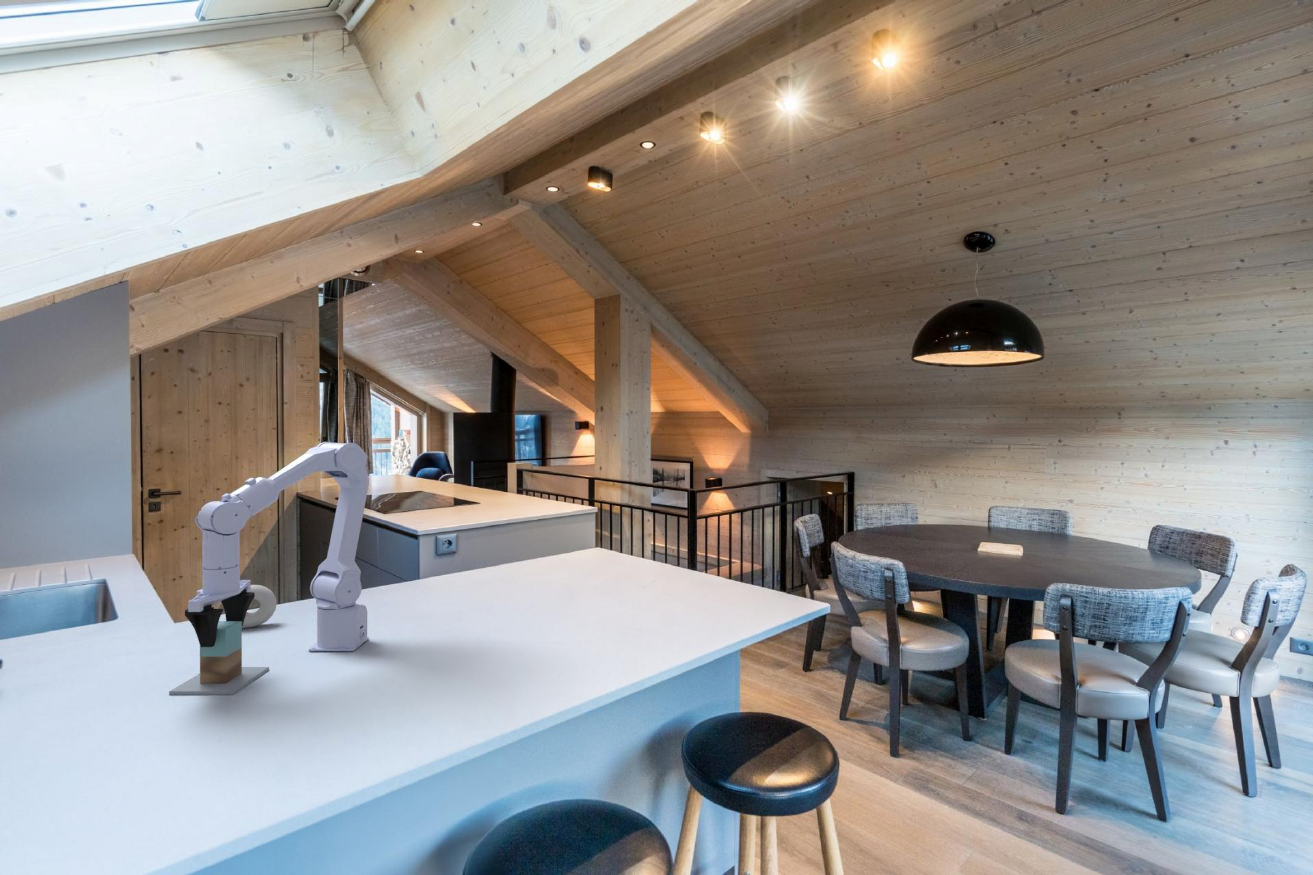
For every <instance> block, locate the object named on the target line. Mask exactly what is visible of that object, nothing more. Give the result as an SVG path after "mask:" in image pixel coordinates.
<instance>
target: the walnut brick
mask: <svg viewBox="0 0 1313 875" xmlns="http://www.w3.org/2000/svg"><path fill="white" fill-rule="evenodd" d="M242 649H243V648H240V649H238V650H236V651H235V652H233V653H231V654H229V655H228V656H226V657H200V656H199V674H200V684H226V683H228V682H229V681H231V680H232V679H234V678H236V677H237V676H239V675H240V674H242V667H243V665H242V664H243V663H242V662H243V654H242V653H243V650H242Z"/></svg>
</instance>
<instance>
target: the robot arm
mask: <svg viewBox="0 0 1313 875" xmlns="http://www.w3.org/2000/svg"><path fill="white" fill-rule="evenodd" d="M367 461H368V454H366V452H365V450H363V448H361V446H360V445H359V444H356V443H355V442H346V443H344V442H342V443H341V442H331V441H324V442H321V443H319V444H318V445H316V446H313V447H311V448H309V449H308V450H306V452H305V453H304V454H302V455H300V456H299V457H297V458H296V459H295V460H294V461H292V462H290V463H288V464H287V465H286V466H285V467H283V468H281V469H279V470H278V471H277V472H276V473H274V474H272V475H271V476H269V477H268V478H266V477H262V476H261V477H260V476H258V477H256V478H254V477H249V478H248V479H246V480H245V481H244V483H245V484H244V485H242V486H241V487H238V488H237V489H235V490H234V491H232V492H230V493H228V492H226V493H224V494H223V495H221V500H219V501H218V500H216V501H214V500H213V501H209V502H208V503H206V504H204V505H203V506H202V507H201V508H200V510H199V512H198V514H197V516H196V517H195V518H194V522H195V524H196V526H197V527H198V528H199V529H200V530H201V533H202V534H201V536H202V537H201V538H202V546H201V547H202V548H201V551H202V552H201V554H202V556H201V557H202V558H201V560H202V562H201V563H202V564H201V566H202V570H201V571H202V572H201V573H202V574H201V575H202V576H201V577H202V578H201V579H202V580H201V583H202V588H201V589H198V590H196V596H195V597H193V598H192V599H190V600H188V601H187V603H188V604H187V608H185V609H184V616H185V618H186V619H188V621H189V622H190V624H191V626H192V628H193V629H194V631H195V635H196V637H197V639H198V643H199V647H200V646H201V647H213V646H214V645H215V642H216V635H217V626H218V622H219V621H220V618H221V617H222V614H223V612H224V614H225V621H242V628H244V627H243V623H244V619H245V616H246V613H247V612H248V610H249V608H250V606H251V603H252V601H253V600H255V599H254V597H255V593H254V592H247V591H249V590H251V585H252V584H251V582H252V581H251V579H241V569H240V568H241V549H240V548H241V545H240V544H241V538H240V537H241V536H240V535H241V534H240V532H241V530H242V529H244V528H245V526H246V524H247V522H248V520H249V519H250V518H252V517H254V516H255V515H257V514H258V513H260V512H261V511H263V510H265V509H266V508H268V507H269V506H271V505H273V504H274V503H277V501H278V499H279V496H280V492H282V491H284V490H286V489H287V488H289V487H291V486H292V485H294V484H296V483H298V482H300V481H302V480H303V479H305V478H307V477H308V476H310V475H312V474H314V473H317V472H323V473H325V474H327V475H329V476H331V477H332V479H333V480H334V481H335V482H336V483H337V484H338V485H339V487H340V488H339V494H338V495H339V496H338V499H337V505H336V510H335V514H334V520H333V525H332V530H331V536H330V541H329V546H328V550H327V556H326V559H324V560H323V561H322V562H320V564H319V565H318V566H317V571H316V574H315V575H314V577H313V579H312V580H311V582H310V586H309V591H310V594H311V596H312V597H313V598H314V599H315V600H316V617H317V618H316V643H314V644H313V645H311V646H310V647H309V648H308V652H353V651H355V650H356V649H358V648H359V647H360V646H361V645H363V644H364V643H365V642H366V641H367V640H368V639H369V638H370V637H369V636H368V609H367V606H366V605H365V604H359V603H356V601H358V599H359V598H360V596H361V594H362V583H361V574H362V571H361V569H360V567H359V566H358V564H357V563H356V561H355V559H356V553H357V550H358V549H357V548H358V543H359V538H360V533H361V528H362V523H363V517H364V513H365V512H364V511H365V506H366V501H367V497H368V490H369V486H370V477H369V474H368V469H367V463H368V462H367ZM220 602H221V605H222V607H223V608H215V607H214V606H213V605H215V604H217V603H220Z"/></svg>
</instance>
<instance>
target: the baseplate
mask: <svg viewBox="0 0 1313 875" xmlns="http://www.w3.org/2000/svg"><path fill="white" fill-rule="evenodd" d="M268 671H270V667H269V666H242V674H240V675H239V676H237V677H236V678H234V679H232V680H231V681H229V682H228V683H226V684H200V673H199V674H197V675H194V676H193V677H192V678H190V679H188V680H187V681H185V682H183V683H182V684H179V685H178V686H176V687H174V688H173V689H171V690H169V691H168V695H170V696H175V695H178V696H179V695H180V696H183V695H185V696H186V695H188V696H189V695H190V696H191V695H192V696H195V695H198V696H201V695H202V696H203V695H206V696H207V695H211V696H215V695H217V696H218V695H219V696H221V695H222V696H223V695H224V696H225V695H230V696H231V695H232V696H233V695H235V694H236V693H238V692H239V691H240V690H242V689H244V688H245V687H246V686H248V685H249V684H251V683H252V682H254V681H255V680H257V679H258V678H259V677H261V676H262V675H264V674H266V673H267V672H268Z"/></svg>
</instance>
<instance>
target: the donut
mask: <svg viewBox="0 0 1313 875" xmlns="http://www.w3.org/2000/svg"><path fill="white" fill-rule="evenodd" d="M247 592H254V593H255V597H254V599H253V600H256V601H257V602H259V605H260V606H259V608H258V609H257V610H256V611H253V612H249V611H247V613H246V616H245V619H244V623H243V627H242V628H253V627H254V628H255V627H259V626H260V625H263V624H265V623H266V622H268V621H269V620H270V619H271V618H272V617H273V615H274V613H275V611H276V609H277V604H278V603H277V597H276V595H275V594H274V592H273V591H272V590H271V589H270V588H269V587H267V586H264V585H261V584H251V590H249V591H247Z"/></svg>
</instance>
